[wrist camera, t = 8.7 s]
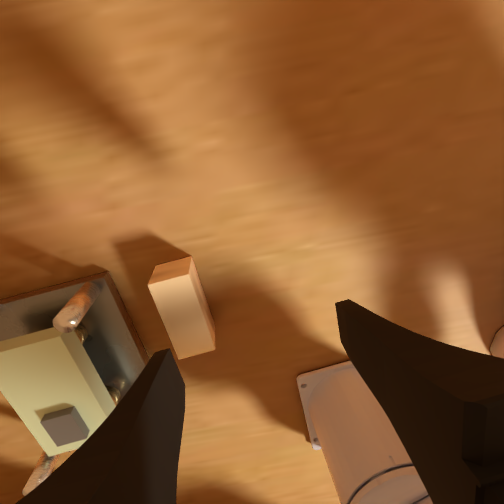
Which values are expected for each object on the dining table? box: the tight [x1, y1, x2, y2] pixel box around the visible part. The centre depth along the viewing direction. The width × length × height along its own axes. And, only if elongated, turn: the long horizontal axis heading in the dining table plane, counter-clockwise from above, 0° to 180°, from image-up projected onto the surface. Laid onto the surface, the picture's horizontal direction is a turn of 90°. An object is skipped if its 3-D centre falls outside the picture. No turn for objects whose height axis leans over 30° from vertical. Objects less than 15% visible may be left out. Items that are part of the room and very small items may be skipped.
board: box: [0, 327, 116, 457], centre depth 20 cm, size 9×5×2 cm, turn 13°
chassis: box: [0, 271, 149, 496], centre depth 21 cm, size 13×10×5 cm
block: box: [148, 256, 215, 360], centre depth 21 cm, size 6×3×3 cm, turn 13°
